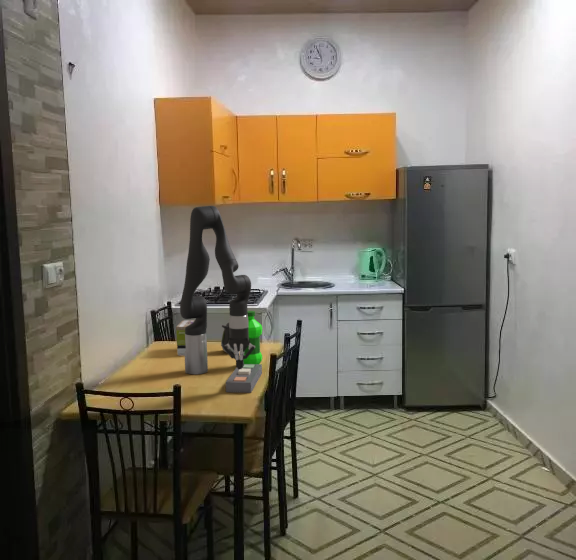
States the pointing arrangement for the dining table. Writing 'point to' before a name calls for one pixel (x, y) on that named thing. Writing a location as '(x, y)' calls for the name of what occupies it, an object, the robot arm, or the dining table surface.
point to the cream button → (244, 372)
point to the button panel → (241, 385)
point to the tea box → (182, 336)
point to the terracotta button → (240, 379)
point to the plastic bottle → (254, 340)
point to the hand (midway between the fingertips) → (239, 368)
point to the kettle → (225, 337)
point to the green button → (249, 366)
